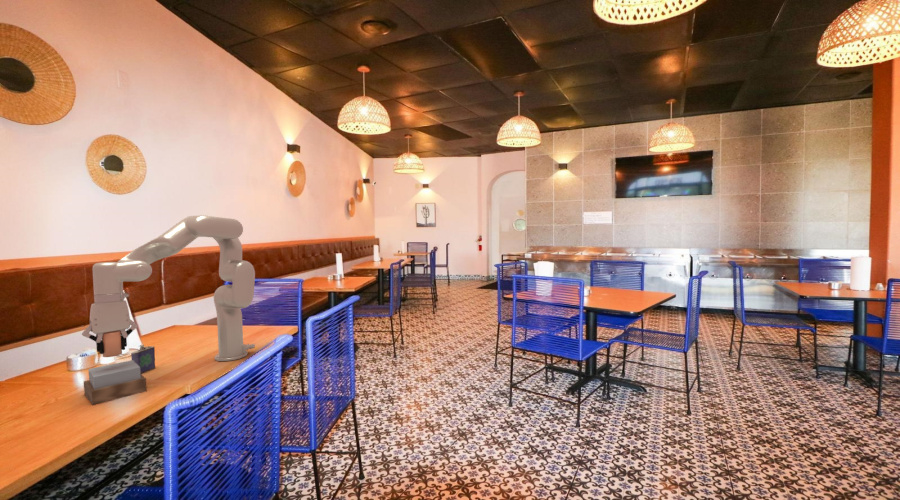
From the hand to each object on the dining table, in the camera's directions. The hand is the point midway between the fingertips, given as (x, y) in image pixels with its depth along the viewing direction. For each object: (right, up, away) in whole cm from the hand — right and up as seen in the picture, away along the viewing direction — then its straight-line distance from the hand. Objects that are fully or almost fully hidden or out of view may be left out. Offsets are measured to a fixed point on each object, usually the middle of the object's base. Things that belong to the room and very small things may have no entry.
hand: (112, 350), depth 135 cm
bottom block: (+1, -15, +1) cm, 15 cm away
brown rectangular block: (0, -1, 0) cm, 1 cm away
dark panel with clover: (-5, -14, +21) cm, 26 cm away
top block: (0, -10, +1) cm, 10 cm away
